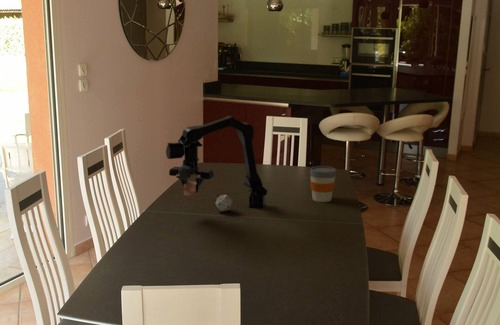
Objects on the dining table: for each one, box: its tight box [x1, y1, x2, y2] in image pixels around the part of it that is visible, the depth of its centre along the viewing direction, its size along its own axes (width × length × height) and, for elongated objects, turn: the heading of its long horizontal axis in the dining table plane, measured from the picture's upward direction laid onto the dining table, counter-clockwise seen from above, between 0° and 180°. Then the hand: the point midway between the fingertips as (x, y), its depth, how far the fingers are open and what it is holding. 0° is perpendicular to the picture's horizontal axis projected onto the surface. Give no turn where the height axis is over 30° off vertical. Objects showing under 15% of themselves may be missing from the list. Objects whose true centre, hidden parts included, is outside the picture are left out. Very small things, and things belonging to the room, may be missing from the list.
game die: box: [212, 192, 235, 214], centre depth 247 cm, size 9×8×10 cm
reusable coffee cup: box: [309, 165, 337, 203], centre depth 265 cm, size 13×13×15 cm
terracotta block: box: [183, 180, 200, 197], centre depth 239 cm, size 5×5×5 cm
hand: (191, 191), depth 240 cm, fingers closed on terracotta block, 5 cm apart
